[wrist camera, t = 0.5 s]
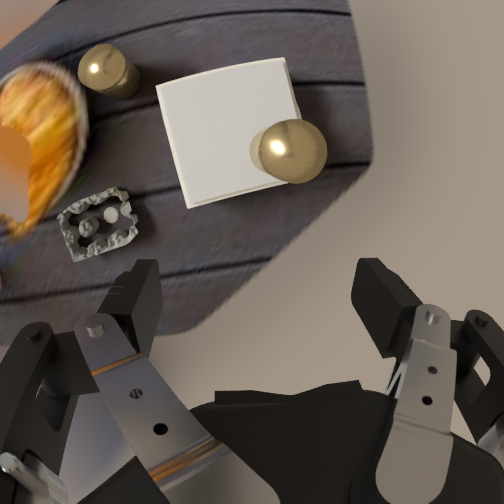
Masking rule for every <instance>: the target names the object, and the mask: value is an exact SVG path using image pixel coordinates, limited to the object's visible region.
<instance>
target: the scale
mask: <svg viewBox="0 0 504 504" xmlns="http://www.w3.org/2000/svg"><path fill="white" fill-rule="evenodd" d="M156 90H157V94H158V98H159V103H160V107H161V111H162V115H163V119H164V123H165V127H166V131H167V135H168V139H169V143H170V147H171V150H172V154H173V158H174V162H175V165H176V169H177V173H178V176H179V180H180V184H181V187H182V191H183V194H184V198H185V201H186V205H187V208H188V209H189V208H192V207H196V206H199V205H203V204H207V203H210V202H214V201H218V200H221V199H225V198H229V197H233V196H237V195H241V194H244V193H248V192H252V191H256V190H260V189H264V188H269V187H273V186H277V185H281V184H285V183H288V182H285V181H281V180H279V179H276V178H275V177H273V176H271V175H269V174H267V173H264V172H262V171H260V170H259V169H258V168H257V167H256V166H255V165H254V164H253V162H252V160H251V158H250V153H249V148H250V143H251V141H252V139H253V137H254V136H255V135H256V134H257V133H258V132H259V131H261V130H263V129H265V128H267V127H270V126H272V125H274V124H275V123H278V122H280V121H284V120H288V119H301V120H302V117H301V113H300V110H299V107H298V105H297V103H296V99H295V95H294V92H293V88H292V84H291V80H290V76H289V73H288V69H287V65H286V62H285V58H284V57H282V58H274V59H267V60H261V61H255V62H249V63H244V64H238V65H233V66H228V67H224V68H219V69H215V70H210V71H206V72H202V73H198V74H194V75H190V76H187V77H183V78H180V79H176V80H173V81H169V82H166V83H163V84H160V85H156Z"/></svg>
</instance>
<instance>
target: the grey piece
mask: <svg viewBox="0 0 504 504" xmlns="http://www.w3.org/2000/svg"><path fill="white" fill-rule="evenodd" d="M110 196H118V197H119V198H120V200H121V201H123V203H122V205H121V213H122V214H123V215H124V216H125V217H127V218H132V219H133V221H134V225H133V226H132V227H131V228H130V231H129V235H128V233H127V232H126V231H124V230H117V231H116V232H115V233H113V234H112V235H111V236H110V237H109V239H108V243H107V241H106V240H104V239H102V238H100V239H97V240H96V241H94V242H93V243H91V244H90V245H89V246H88V248H86V247H80V246H79V244H78V239H79V238H80V234H81V235H82V236H84V237H89V236H91V235H92V234H93V233H95V232H96V231H97V230H98V227H99V222H98V220H97V219H96V218H95V217H91V216H90V217H88V218H86V219H84V220H82V221H81V222H80V225H79V228H78V227H77V226H74V225H73V226H70V224H69V222H68V219H69V218H70V216H71V212H73V213H75V214H80V213H81V212H83V211H85V210H86V209H87V208H88V207H89V204H94V205H97V204H101V203H102V202H103V201H105V200H107V198H108V197H110ZM128 198H129V196H128V193H127V191H120V190H118V189H117V187H112V188H110V189H107V190H106V191H105V192H102V193H99V194H95V195H92V196H90V197H88V198H85V199H82V200H79V201H77V202H75V203H74V204H72V205H71V206H70V207H68V208H67V209H66V210H65V211H63V212H62V213H61V214H60V215H58V217H57V219H58V221H59V222H60V224H61V232H62V233H63V235H64V239H65V241H66V244H67V248H68V249H69V250H70V252H71V257H72V259H73V261H74V262H77V261H80V260H83V259H86V258H88V257H91V256H94V255H99V254H101V253H104V252H106V251H110V250H112V249H115V248H118V247H121V246H124V245H126V244H128V243H129V242H130V241H131V240H132V239H133V238H134V237H135V235H136V234H137V233H138V231H137V229H136V227H135V224H136V223H137V222H138V218H137V215H136V214H130V212H131V211H132V210H131V206H130V203H129V201H127V202H126V200H127V199H128ZM104 218H105V220H106V221H107V222H108V223H115V222H116V221H117V220H118V218H119V213H118V211H117V210H116V209H115V208H113V207H109V208H107V209H106V210H105V212H104Z"/></svg>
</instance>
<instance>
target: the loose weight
mask: <svg viewBox="0 0 504 504" xmlns="http://www.w3.org/2000/svg"><path fill="white" fill-rule="evenodd" d="M78 76H79V79H80V81H81V82H82V83H83V84H84V85H85V86H87V87H89V88H91V89H93V90H96V91H98V92H101V93H103V94H105V95H107V96H109V97H111V98H113V99H116V100H123V99H126V98H129V97H130V96H132V95H133V94H134V93H135V92H136V91H137V90H138V88H139V86H140V83H141V75H140V72H139V71H138V69H137V68H136V67H135V66H134V65H133V64H132V63H131V62H130V61H129V60H128V59H127V58H126V57H125V56H124V54H123V53H122V52H121V51H119V50H118V49H117V48H116V47H114V46H112V45H109V44H102V45H98V46H95V47H94V48H92V49H90V50H89V51H88V52H87V53H86V54H85V55H84V56H83V58H82V59H81V61H80V64H79V67H78Z"/></svg>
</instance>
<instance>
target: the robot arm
mask: <svg viewBox="0 0 504 504" xmlns="http://www.w3.org/2000/svg"><path fill="white" fill-rule="evenodd" d="M351 300H352V304H353V306H354V308H355V310H356V312H357V313H358V315H359V317H360V318H361V320H362V322H363V323H364V325H365V327H366V329H367V330H368V332H369V334H370V336H371V338H372V340H373V341H374V343H375V345H376V347H377V349H378V350H379V352H380V354H381V356H382V358H383V359H384V358H389V357H395V358H396V361H395V363H394V365H393V368H392V371H391V374H390V377H389V380H388V383H387V386H386V389H385V392H384V394H383V393H380V392H375V391H370V390H363V389H362V387H361V385H360V383H359V380H354V381H347V382H340V383H333V384H326V385H323V386H320V387H317V388H314V389H311V390H308V391H305V392H302V393H299V394H296V395H282V394H275V393H267V392H260V391H254V390H245V391H244V390H243V391H215V401H214V402H210V403H206V404H203V405H200V406H197V407H195V408H192V409H191V410H188V409H187V408H186V407H185V405H184V404H183V403H182V402H181V401H180V399H179V398H178V397H177V396H176V395H175V393H174V392H173V391H172V390H171V388H170V387H169V386H168V385H167V383H166V382H165V381H164V379H163V378H162V377H161V376H160V374H159V373H158V372H157V370H156V369H155V368H154V366H153V365H152V364H151V362H150V361H149V360H148V358H149V354H150V350H151V346H152V342H153V339H154V335H155V331H156V328H157V324H158V321H159V317H160V313H161V310H162V301H163V299H162V289H161V282H160V275H159V267H158V262H157V260H156V259H138V260H137V261H136V263H135V265H134V266H133V268H132V270H131V272H124V273H123V274H121V275H120V276H119V277H117V278H116V280H115V281H114V283H113V285H112V288H110V290H109V292H108V294H107V295H106V297H105V299H104V301H103V302H102V304H101V306H100V308H99V310H98V311H97V313H96V314H91V315H88V316H86V317H84V318H83V319H81V320H80V321H79V322H78V323H77V324H76V326H75V330H74V331H72V332H66V333H59V334H54V333H53V330H52V328H51V326H50V325H49V324H48V323H45V322H34V323H31V324H29V325H27V326H25V327H24V328H22V329H21V330H20V332H19V333H18V334H17V336H16V338H15V339H14V341H13V343H12V344H11V346H10V348H9V349H8V351H7V353H6V354H5V356H4V358H3V360H2V362H1V363H0V504H68V492H67V488H66V486H65V484H64V482H63V481H62V480H61V479H60V478H59V472H60V467H61V463H62V458H63V453H64V449H65V444H66V441H67V437H68V433H69V429H70V425H71V422H72V418H73V415H74V411H75V408H76V404H77V401H78V398H79V395H82V394H89V393H96V392H101V394H102V396H103V398H104V400H105V402H106V404H107V406H108V408H109V410H110V412H111V413H112V415H113V417H114V419H115V421H116V423H117V424H118V426H119V428H120V429H121V431H122V433H123V435H124V436H125V438H126V440H127V441H128V443H129V444H130V446H131V448H132V449H133V451H134V452H135V454H136V456H134V457H133V458H132V459H131V460H130V461H129V462H127V463H126V464H125V465H124V466H123V467H122V468H120V469H119V470H118V471H117V472H116V473H114V474H113V475H112V476H111V477H110V478H108V479H107V480H106V481H105V482H104V483H102V484H101V485H100V486H99V487H97V488H96V489H95V490H94V491H92V492H91V493H90V494H88V495H87V496H86V497H85V498H83V499H82V500H81V501H79V502H78V503H77V504H504V331H503V330H502V329H501V328H500V326H499V325H498V324H497V323H496V322H495V321H494V320H493V318H492V317H490V316H489V315H488V314H486V313H485V312H483V311H480V310H470V311H468V312H467V315H466V317H465V319H464V321H457V320H450V316H449V315H448V313H447V312H446V311H445V310H443V309H441V308H440V307H438V306H435V305H431V304H423V303H422V302H421V300H420V299H419V298H418V297H417V296H416V295H415V294H414V292H413V291H412V290H411V289H409V287H408V286H407V285H406V283H404V281H403V280H402V279H401V278H400V277H399V276H398V275H397V274H396V273H394V272H392V271H391V270H389V269H387V268H386V266H385V265H384V264H383V263H382V262H381V261H380V260H379V259H378V258H360V259H359V261H358V263H357V268H356V272H355V277H354V282H353V286H352V291H351ZM480 356H481V357H482V358H483V360H484V361H485V363H486V364H487V366H488V367H489V369H490V375H491V376H490V380H489V382H488V383H487V385H486V386H485V385H484V384H483V382H482V380H481V379H480V377H479V375H478V374H477V372H476V371H475V369H474V366H475V365H476V363H477V361H478V360H479V358H480ZM40 385H41V388H40V390H39V393H38V395H37V398H36V394H37V392H38V389H39V387H40ZM454 400H455V402H456V404H457V406H458V408H459V410H460V412H461V414H462V416H463V417H464V419H465V421H466V423H467V425H468V427H469V430H470V431H471V434H472V436H473V438H474V440H475V442H476V444H477V446H476V445H474V444H472V443H470V442H469V441H466V440H465V439H463V438H461V437H460V436H458V435H456V434H454V433H452V432H451V431H450V425H451V417H452V410H453V401H454Z"/></svg>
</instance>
